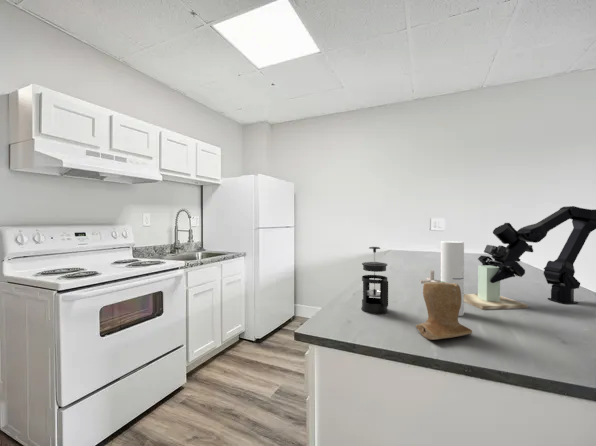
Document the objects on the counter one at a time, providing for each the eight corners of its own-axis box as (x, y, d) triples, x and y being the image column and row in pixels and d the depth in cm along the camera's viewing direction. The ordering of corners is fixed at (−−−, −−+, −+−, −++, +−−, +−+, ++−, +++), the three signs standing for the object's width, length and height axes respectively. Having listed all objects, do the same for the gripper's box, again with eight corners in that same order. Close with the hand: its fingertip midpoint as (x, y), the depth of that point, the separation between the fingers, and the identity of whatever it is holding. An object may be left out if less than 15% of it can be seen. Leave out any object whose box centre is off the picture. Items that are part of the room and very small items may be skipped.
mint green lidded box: (490, 297, 114) (490, 265, 114) (499, 301, 109) (500, 267, 109) (477, 297, 114) (478, 265, 114) (486, 301, 109) (486, 267, 109)
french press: (355, 307, 106) (355, 246, 106) (375, 304, 109) (375, 245, 109) (375, 317, 95) (375, 249, 95) (397, 313, 99) (397, 248, 98)
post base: (493, 296, 120) (493, 285, 120) (527, 307, 104) (527, 295, 104) (453, 297, 119) (454, 286, 119) (482, 309, 103) (482, 296, 103)
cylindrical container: (467, 316, 95) (467, 242, 95) (444, 315, 97) (444, 242, 97) (459, 309, 102) (459, 241, 102) (438, 308, 104) (438, 240, 104)
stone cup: (444, 323, 89) (444, 276, 89) (479, 338, 78) (479, 284, 78) (404, 329, 85) (404, 279, 84) (435, 346, 73) (435, 288, 73)
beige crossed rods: (439, 290, 131) (439, 268, 131) (448, 296, 121) (448, 272, 121) (416, 289, 132) (416, 268, 132) (424, 295, 122) (424, 272, 122)
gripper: (482, 236, 121) (457, 262, 121) (517, 239, 102) (487, 270, 102) (500, 254, 121) (475, 280, 121) (538, 261, 102) (508, 291, 102)
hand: (485, 280), depth 111 cm, fingers open, 6 cm apart
